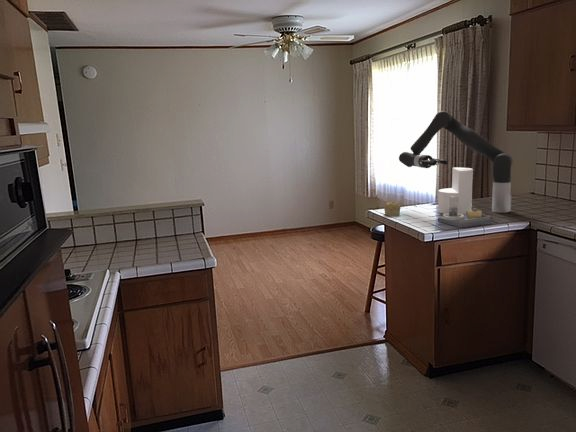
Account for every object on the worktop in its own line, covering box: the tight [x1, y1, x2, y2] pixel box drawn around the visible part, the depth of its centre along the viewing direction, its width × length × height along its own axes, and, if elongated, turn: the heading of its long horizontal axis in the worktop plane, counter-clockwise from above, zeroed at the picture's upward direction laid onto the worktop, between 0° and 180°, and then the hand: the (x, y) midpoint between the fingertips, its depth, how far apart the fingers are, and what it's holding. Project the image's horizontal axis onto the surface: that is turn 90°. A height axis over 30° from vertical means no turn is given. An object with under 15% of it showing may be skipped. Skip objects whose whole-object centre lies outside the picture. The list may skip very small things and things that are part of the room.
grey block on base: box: [446, 196, 460, 217], centre depth 251 cm, size 7×7×12 cm
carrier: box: [437, 207, 493, 228], centre depth 250 cm, size 20×18×8 cm
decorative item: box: [383, 201, 402, 217], centre depth 278 cm, size 10×10×10 cm
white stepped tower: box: [437, 166, 474, 215], centre depth 276 cm, size 19×19×25 cm
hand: (440, 163), depth 262 cm, fingers open, 8 cm apart
